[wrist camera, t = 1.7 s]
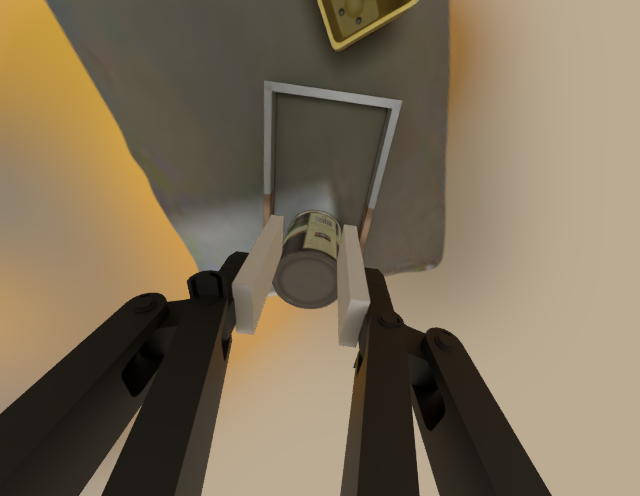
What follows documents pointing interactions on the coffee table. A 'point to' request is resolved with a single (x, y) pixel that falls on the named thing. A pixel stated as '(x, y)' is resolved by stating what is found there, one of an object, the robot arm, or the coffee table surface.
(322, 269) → the coffee can
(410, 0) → the flower pot
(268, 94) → the grey piece
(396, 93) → the coffee table surface
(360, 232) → the slot rails
